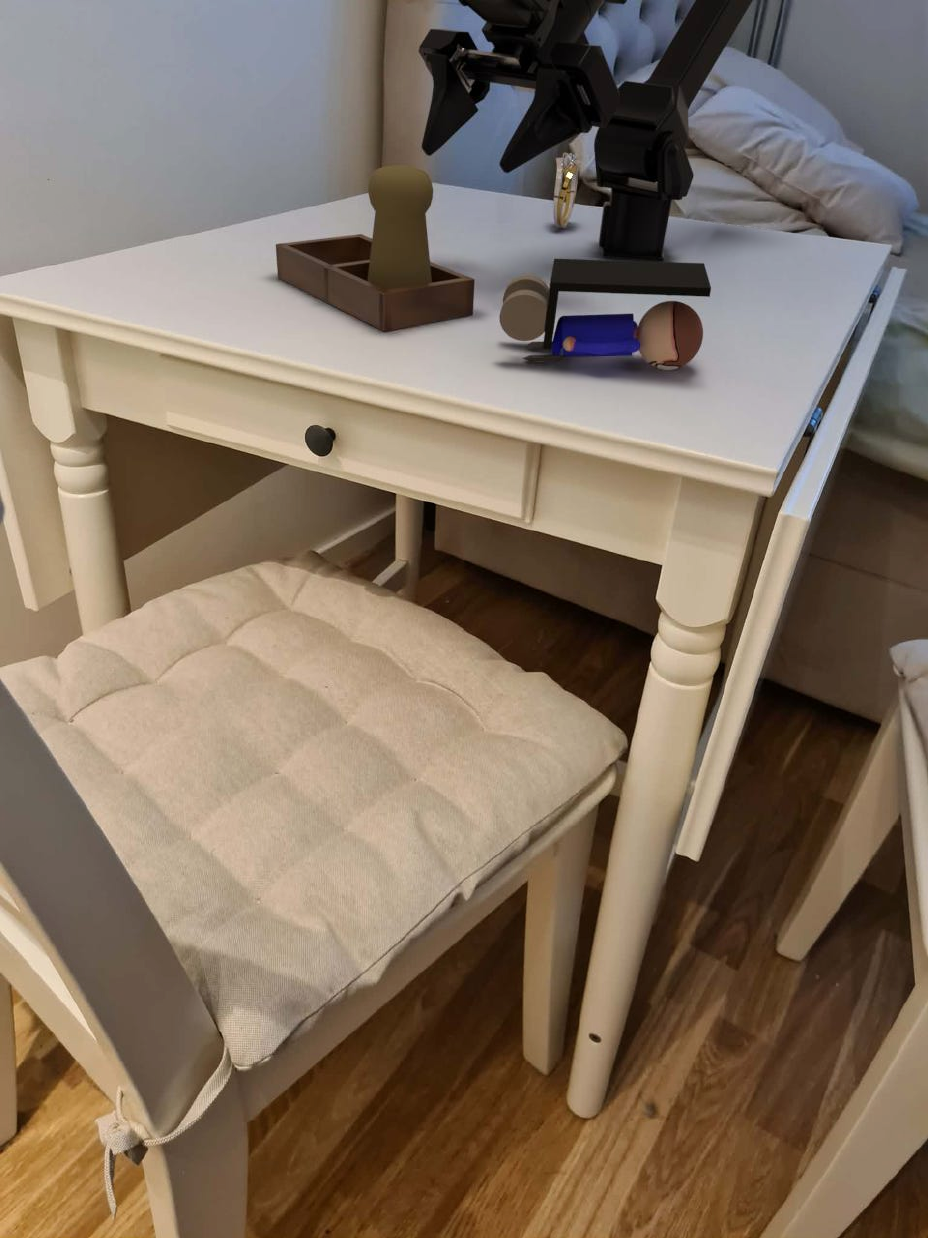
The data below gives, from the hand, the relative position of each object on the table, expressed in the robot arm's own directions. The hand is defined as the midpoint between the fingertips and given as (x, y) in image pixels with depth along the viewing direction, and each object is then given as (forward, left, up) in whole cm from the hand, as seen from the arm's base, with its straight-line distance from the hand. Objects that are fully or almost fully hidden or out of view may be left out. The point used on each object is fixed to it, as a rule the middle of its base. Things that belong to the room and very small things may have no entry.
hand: (462, 160), depth 74 cm
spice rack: (+7, +3, -11) cm, 14 cm away
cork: (+4, +5, -11) cm, 13 cm away
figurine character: (-13, +15, -11) cm, 22 cm away
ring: (-9, -31, -11) cm, 34 cm away
